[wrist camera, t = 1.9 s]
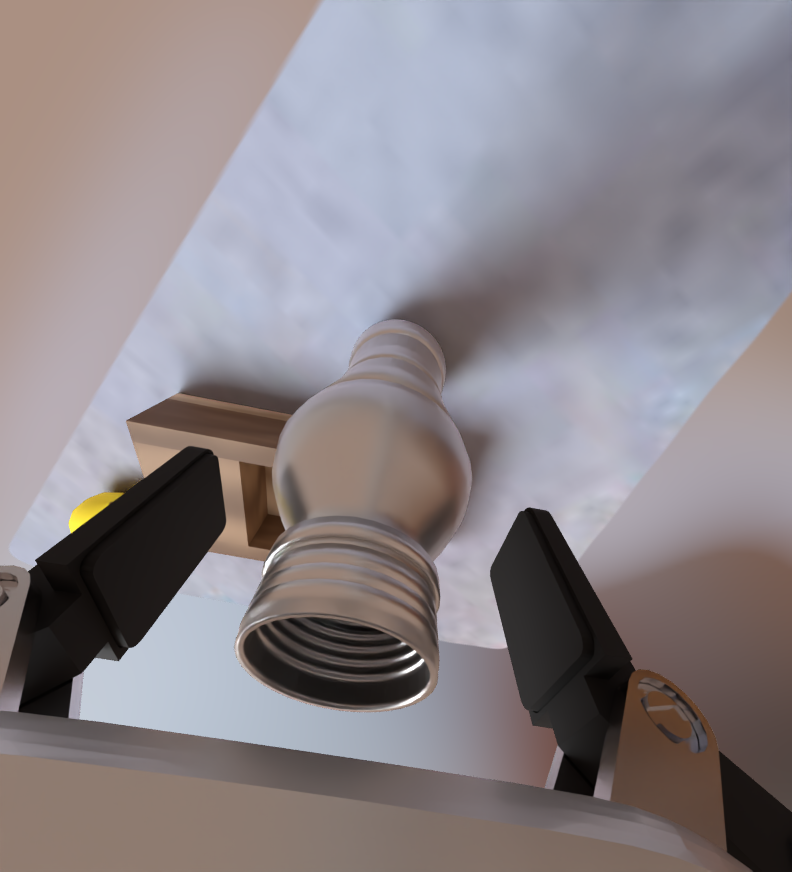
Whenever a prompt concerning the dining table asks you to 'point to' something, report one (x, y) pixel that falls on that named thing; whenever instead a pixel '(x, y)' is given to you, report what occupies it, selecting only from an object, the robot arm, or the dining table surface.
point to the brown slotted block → (221, 461)
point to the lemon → (91, 508)
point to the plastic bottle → (361, 532)
